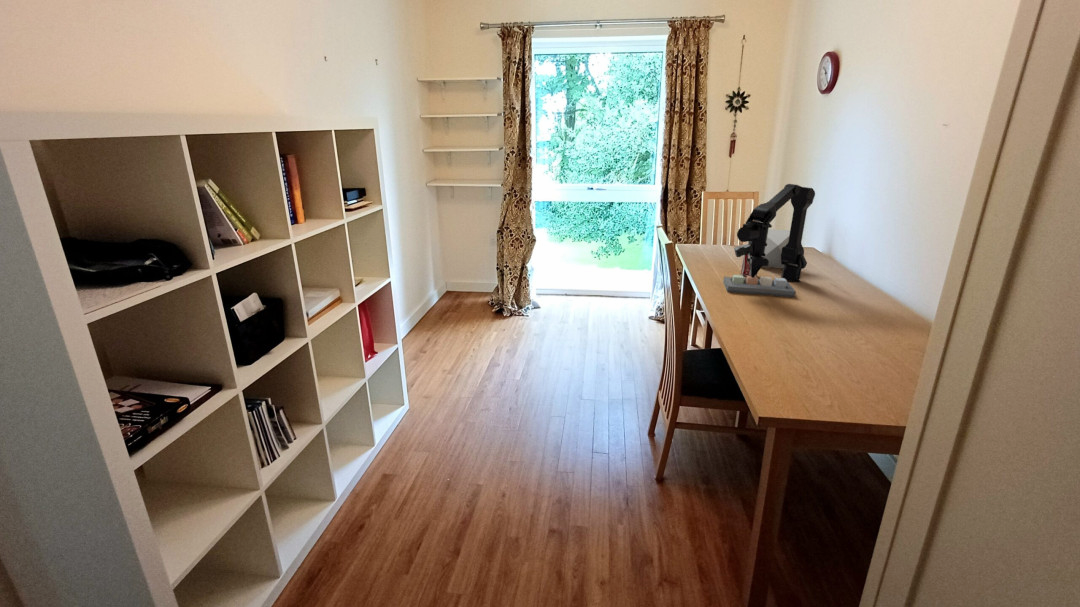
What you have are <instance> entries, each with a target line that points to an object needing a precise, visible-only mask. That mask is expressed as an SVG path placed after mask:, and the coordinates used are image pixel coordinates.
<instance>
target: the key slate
mask: <svg viewBox="0 0 1080 607" xmlns="http://www.w3.org/2000/svg"><path fill="white" fill-rule="evenodd" d="M773 280H774V285H775V286H776V287H786V284H787V282H788V281H787V280H786V279H785V278H782V277H774V279H773Z"/></svg>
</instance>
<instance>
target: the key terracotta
mask: <svg viewBox="0 0 1080 607" xmlns="http://www.w3.org/2000/svg"><path fill="white" fill-rule="evenodd" d="M745 278H746V283H747V284H749V285H757V283H758V279H759V278H758V275H757V276H755V277H754V278H753V277H751V276H747V277H746V276H745Z"/></svg>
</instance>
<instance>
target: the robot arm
mask: <svg viewBox="0 0 1080 607" xmlns="http://www.w3.org/2000/svg"><path fill="white" fill-rule="evenodd" d="M815 196H816V192H815V190H814V188H813V187H805V186H801V185H799V184H795V183H794V184H793V183H787V184H785V185H784V188H782V189H781V190H780V191H779V192H777V193H776V194H775V195H774V196H773V197H772V198H770V199H769V201H767V202H764V203H760V204H759V205H757V206H755V207H754V208H753V209H752V212H751V213H750V215H749V216H748V218H747V219H746V221H745V223H743V224H742V227H740V228H739V229H738V230H737V233H736V237H737V239H738V241H740V242H742V243H747V242H748V243H747V244H741V245H739V246H735V247H733V250H734V254H735V257H737V258H740V257H743V256H744V255H747V254H748V255H749V257H748V258H746V259H747V261H748V262H749V263H750V271H751V277H753V278H754V277H755V275H756V274H757V275H758V274H759V271H760V270H761V269H762V268H763V267H762V266H768V264H769V261H768V259H767V258H766V257H763V256H765V253H764V252H765V246H767V243H766V241H767V235H768V229H772V228H773V225H772V224H771V222H772V221H773V220H774V219H775V218H776V216H777V212H778V211H779V210H781V208H782V207H783V206H785V205H786V204H787V203H788V202H789V201H790V204H791V205H792V208H793V212H792V217H791V224H790V230H789V231H790V235H789V241H788V243H787V245H786V246H785V247H783V248H782V253H781V264H782V265H785V266H784V268H783V269H781V276H780V278H785V279H786V280H787V282H797V283H801V274H802V269H803V270H804V269H805V268H807V264H808V262H807V259H806V258H805V249H804V246H803V244H802V240H803V234H804V228H805V222H806V216H807V211H808V209H809V207H811V206H812V204H813V203H814V199H815Z"/></svg>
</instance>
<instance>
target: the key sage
mask: <svg viewBox="0 0 1080 607" xmlns="http://www.w3.org/2000/svg"><path fill="white" fill-rule="evenodd" d="M731 277H732V282H733V283H736V284H743V282H744V278H745V276H743V275H742V274H732V276H731Z"/></svg>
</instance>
